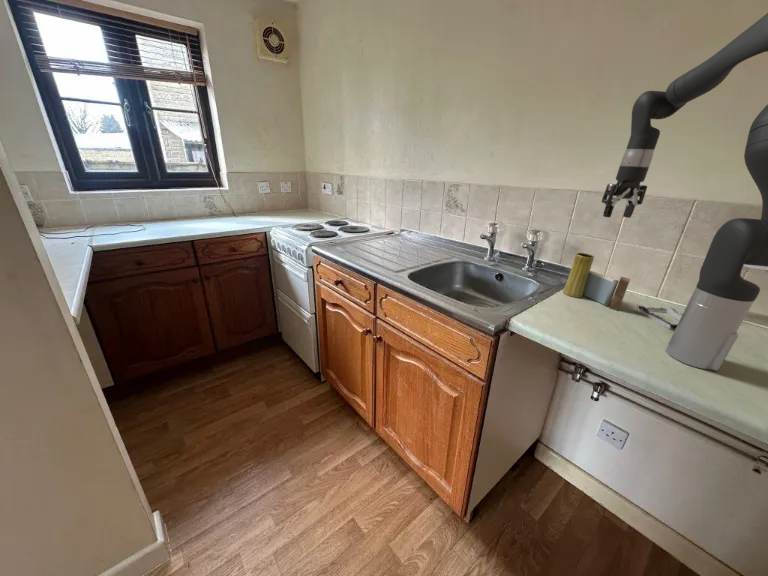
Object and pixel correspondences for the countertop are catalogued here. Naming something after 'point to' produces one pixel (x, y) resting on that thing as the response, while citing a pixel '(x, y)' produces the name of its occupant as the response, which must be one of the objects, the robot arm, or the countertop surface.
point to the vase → (578, 275)
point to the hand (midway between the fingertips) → (616, 217)
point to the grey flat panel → (600, 288)
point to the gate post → (619, 293)
